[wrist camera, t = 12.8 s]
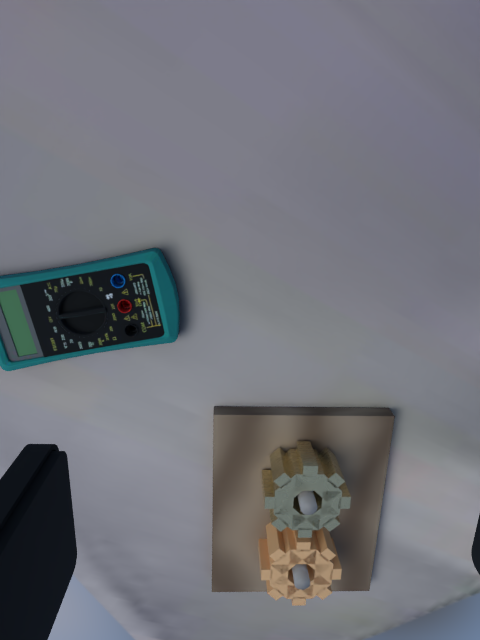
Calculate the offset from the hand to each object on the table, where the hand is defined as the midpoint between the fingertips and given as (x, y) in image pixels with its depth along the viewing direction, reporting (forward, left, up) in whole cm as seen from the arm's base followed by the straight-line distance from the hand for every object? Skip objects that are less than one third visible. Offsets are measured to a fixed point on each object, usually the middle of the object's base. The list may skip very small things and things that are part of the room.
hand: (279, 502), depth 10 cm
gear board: (-6, +23, -28) cm, 37 cm away
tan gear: (-6, +27, -27) cm, 39 cm away
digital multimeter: (+13, +4, -29) cm, 32 cm away
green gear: (-6, +19, -26) cm, 33 cm away
